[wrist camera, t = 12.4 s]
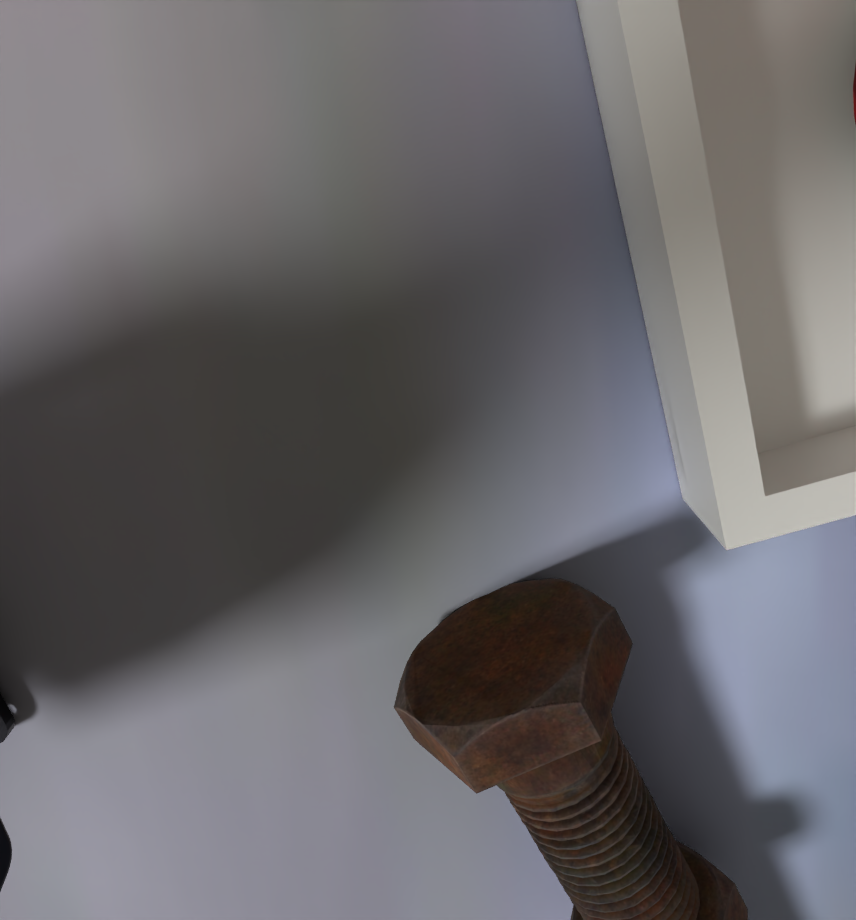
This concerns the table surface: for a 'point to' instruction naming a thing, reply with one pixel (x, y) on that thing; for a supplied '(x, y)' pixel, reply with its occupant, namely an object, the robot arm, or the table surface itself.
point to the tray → (741, 243)
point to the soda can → (854, 94)
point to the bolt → (557, 747)
